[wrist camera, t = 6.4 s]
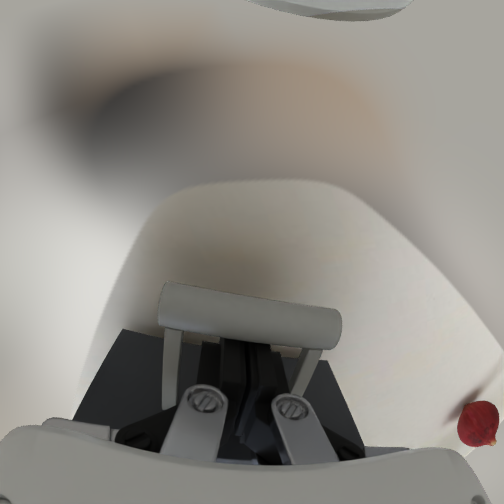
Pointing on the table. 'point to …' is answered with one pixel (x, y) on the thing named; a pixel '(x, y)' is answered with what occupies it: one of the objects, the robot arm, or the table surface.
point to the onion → (478, 424)
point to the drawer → (188, 356)
